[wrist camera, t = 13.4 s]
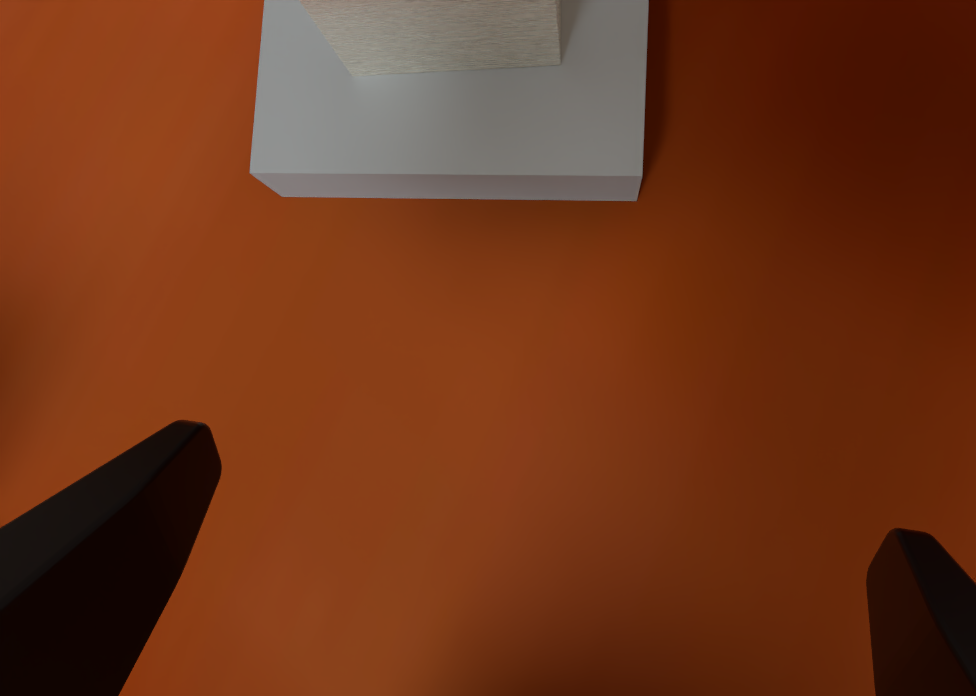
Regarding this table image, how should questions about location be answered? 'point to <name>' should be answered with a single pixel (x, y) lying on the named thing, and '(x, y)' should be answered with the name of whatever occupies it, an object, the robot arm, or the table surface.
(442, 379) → the table surface
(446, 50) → the cream block
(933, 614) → the robot arm
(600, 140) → the grey block
